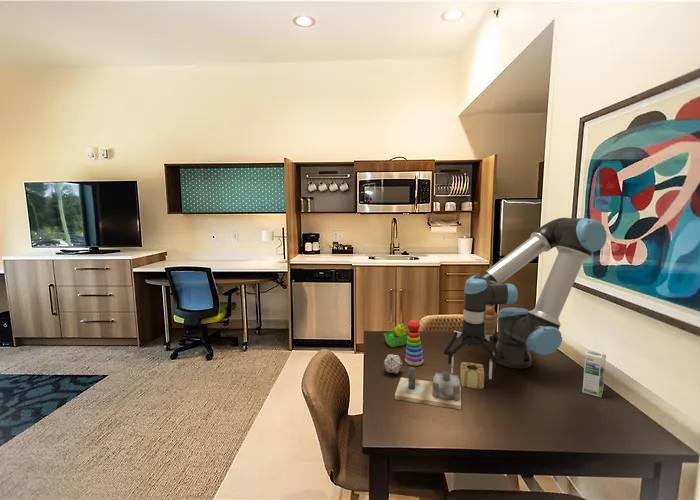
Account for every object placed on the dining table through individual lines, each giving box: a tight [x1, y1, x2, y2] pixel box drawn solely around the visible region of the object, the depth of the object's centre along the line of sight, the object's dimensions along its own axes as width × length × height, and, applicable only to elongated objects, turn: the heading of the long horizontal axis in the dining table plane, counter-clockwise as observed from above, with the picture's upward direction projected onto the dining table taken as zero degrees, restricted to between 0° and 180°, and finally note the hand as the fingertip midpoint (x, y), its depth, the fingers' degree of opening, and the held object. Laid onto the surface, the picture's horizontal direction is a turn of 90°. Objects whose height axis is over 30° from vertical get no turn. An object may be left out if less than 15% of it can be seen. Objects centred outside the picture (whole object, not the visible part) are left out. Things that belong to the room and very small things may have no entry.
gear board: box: [394, 366, 462, 410], centre depth 122 cm, size 22×13×9 cm, turn 72°
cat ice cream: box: [484, 305, 499, 341], centre depth 170 cm, size 9×8×18 cm
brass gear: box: [459, 361, 485, 390], centre depth 130 cm, size 8×8×6 cm
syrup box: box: [581, 349, 607, 398], centre depth 122 cm, size 6×6×14 cm
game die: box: [381, 351, 405, 377], centre depth 138 cm, size 9×8×10 cm
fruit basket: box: [383, 323, 409, 348], centre depth 166 cm, size 11×9×11 cm
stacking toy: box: [404, 319, 425, 367], centre depth 146 cm, size 8×8×19 cm
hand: (470, 374), depth 130 cm, fingers open, 13 cm apart
